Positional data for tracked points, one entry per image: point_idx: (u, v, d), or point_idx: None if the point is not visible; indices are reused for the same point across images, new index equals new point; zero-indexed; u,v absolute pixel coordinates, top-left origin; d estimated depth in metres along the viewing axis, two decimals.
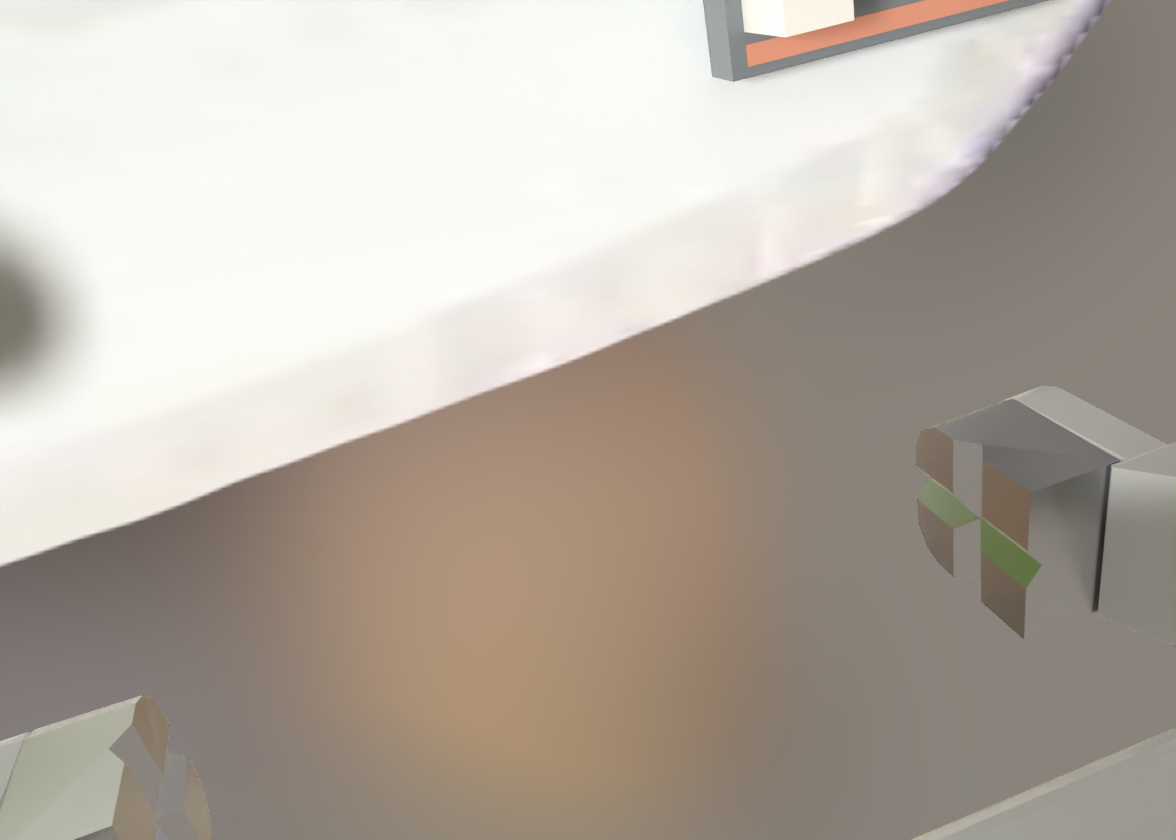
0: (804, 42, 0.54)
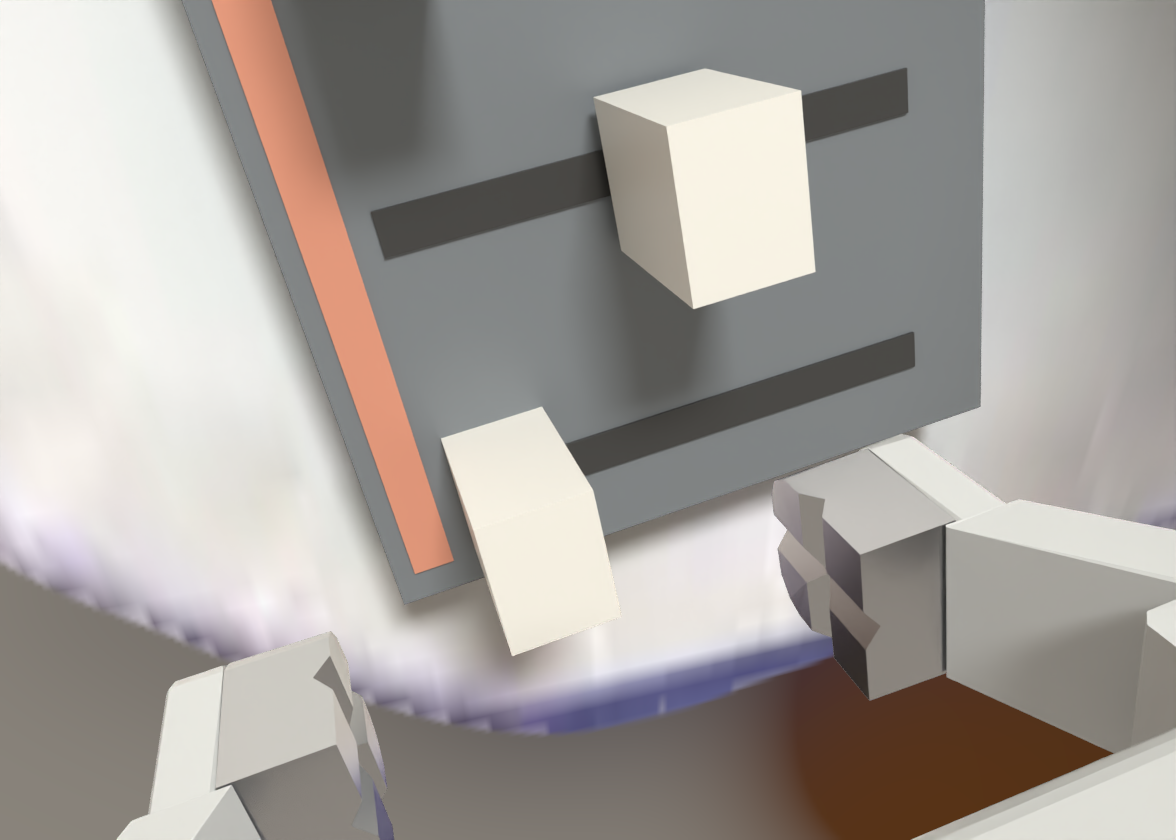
0: None
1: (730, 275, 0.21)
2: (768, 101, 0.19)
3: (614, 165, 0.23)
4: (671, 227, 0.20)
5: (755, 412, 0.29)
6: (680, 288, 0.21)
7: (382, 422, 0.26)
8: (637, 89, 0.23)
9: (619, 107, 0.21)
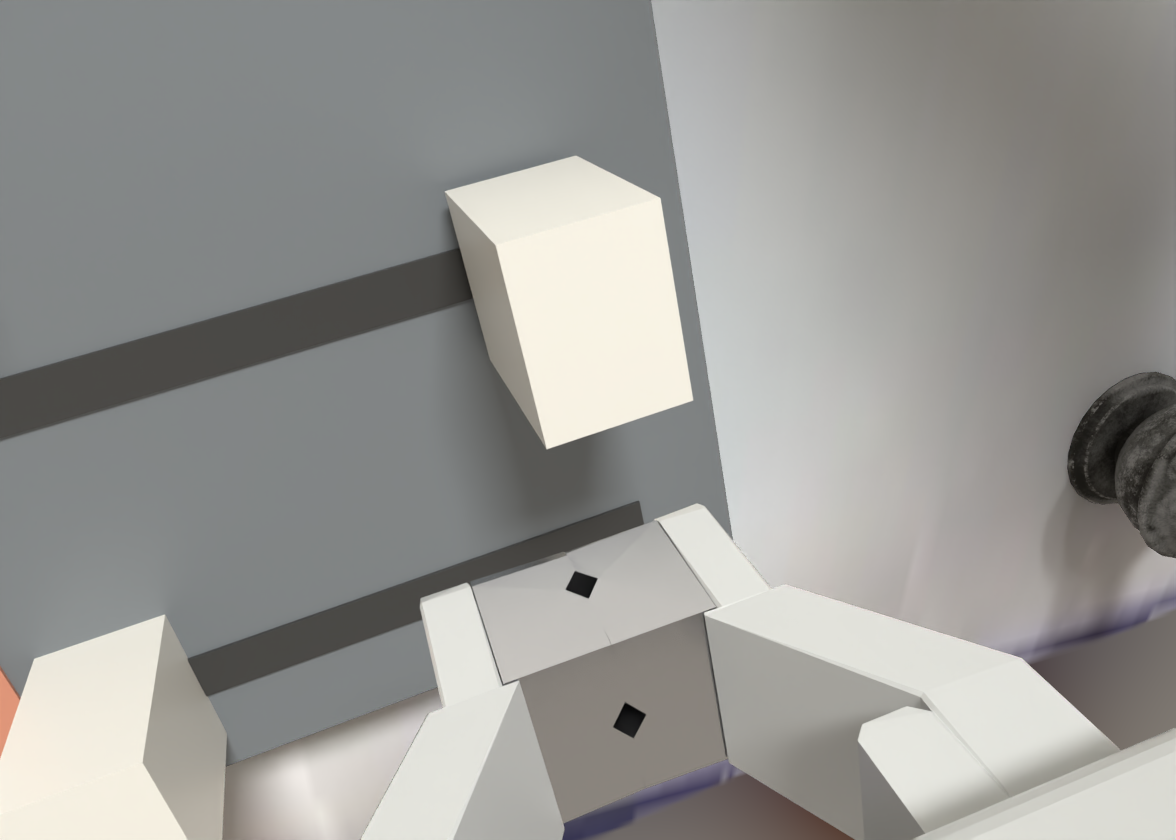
0: None
1: (589, 409, 0.17)
2: (620, 212, 0.16)
3: (470, 269, 0.20)
4: (517, 355, 0.17)
5: None
6: (534, 421, 0.18)
7: None
8: (494, 182, 0.20)
9: (462, 209, 0.18)
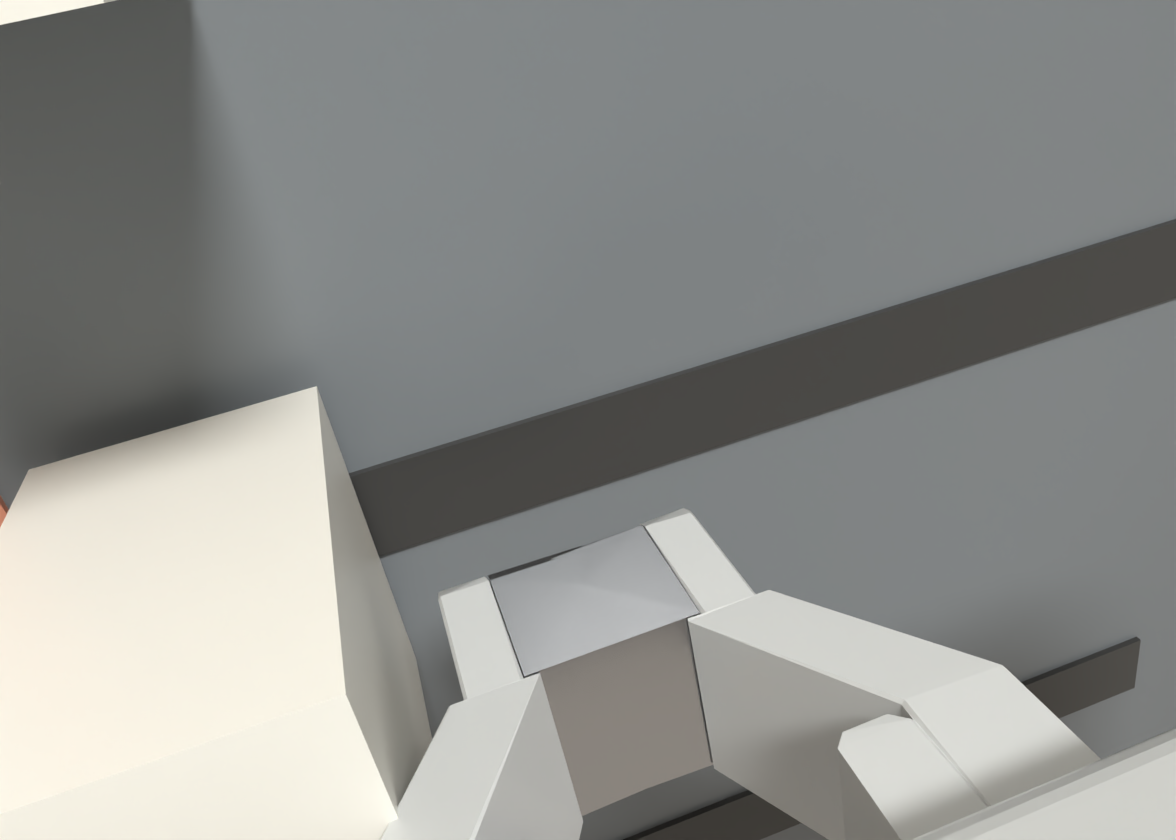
0: None
1: None
2: (226, 743, 0.06)
3: None
4: None
5: None
6: None
7: None
8: (121, 460, 0.09)
9: None
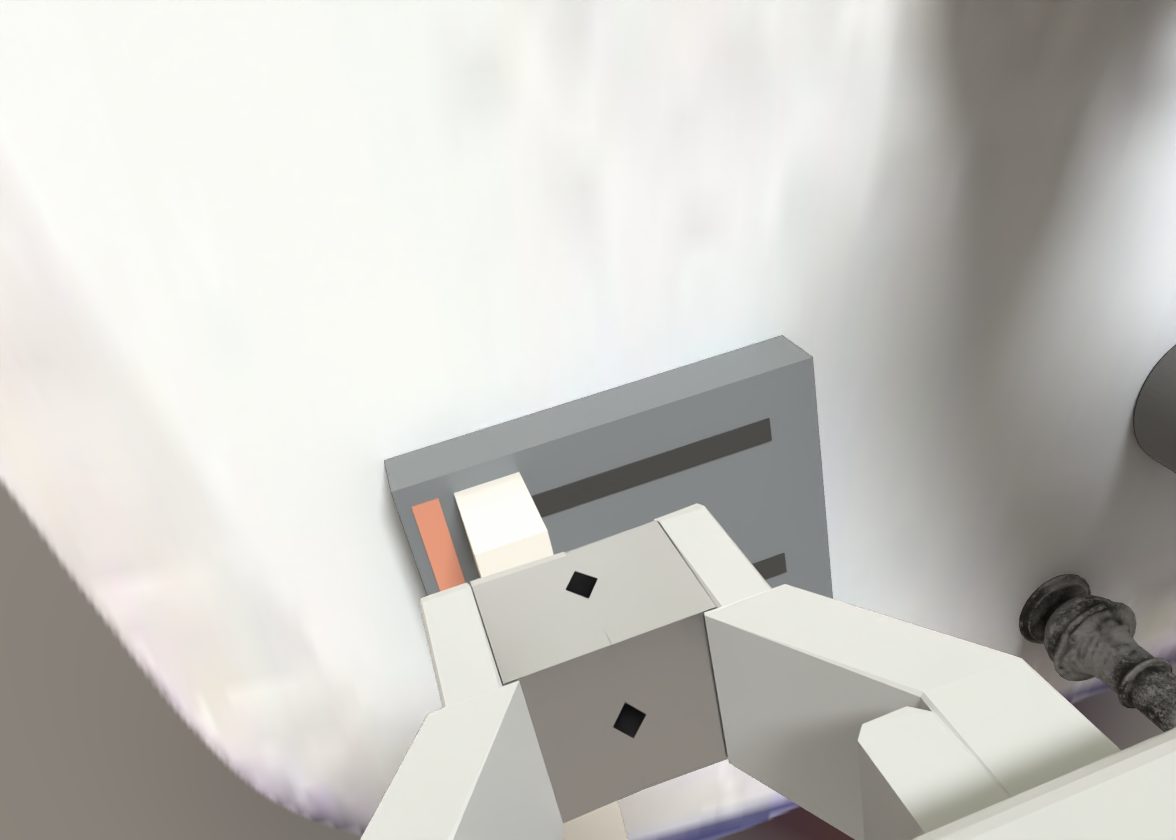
0: (445, 569, 0.42)
1: None
2: None
3: None
4: None
5: None
6: None
7: None
8: None
9: None
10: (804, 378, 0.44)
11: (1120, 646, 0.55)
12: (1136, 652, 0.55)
